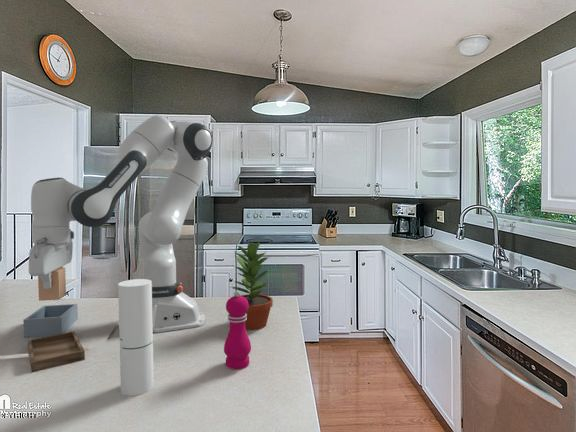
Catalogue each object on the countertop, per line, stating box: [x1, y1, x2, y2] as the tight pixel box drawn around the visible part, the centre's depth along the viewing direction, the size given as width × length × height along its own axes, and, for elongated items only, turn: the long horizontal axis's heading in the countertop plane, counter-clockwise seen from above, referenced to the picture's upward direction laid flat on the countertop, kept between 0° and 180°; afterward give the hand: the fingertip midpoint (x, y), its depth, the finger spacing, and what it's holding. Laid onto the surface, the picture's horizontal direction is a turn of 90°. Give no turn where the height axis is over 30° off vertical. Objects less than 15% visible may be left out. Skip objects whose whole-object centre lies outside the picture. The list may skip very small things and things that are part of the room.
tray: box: [27, 330, 86, 373], centre depth 104 cm, size 18×12×2 cm, turn 38°
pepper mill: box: [223, 290, 252, 370], centre depth 98 cm, size 7×7×20 cm
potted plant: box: [230, 241, 274, 331], centre depth 127 cm, size 15×15×30 cm
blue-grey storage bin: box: [23, 303, 79, 338], centre depth 122 cm, size 11×15×6 cm
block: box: [37, 267, 67, 302], centre depth 103 cm, size 5×5×8 cm
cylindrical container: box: [117, 278, 155, 397], centre depth 86 cm, size 7×7×25 cm
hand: (52, 285), depth 103 cm, fingers closed on block, 5 cm apart
